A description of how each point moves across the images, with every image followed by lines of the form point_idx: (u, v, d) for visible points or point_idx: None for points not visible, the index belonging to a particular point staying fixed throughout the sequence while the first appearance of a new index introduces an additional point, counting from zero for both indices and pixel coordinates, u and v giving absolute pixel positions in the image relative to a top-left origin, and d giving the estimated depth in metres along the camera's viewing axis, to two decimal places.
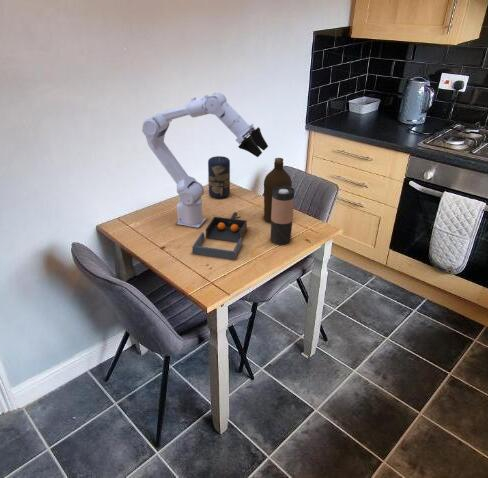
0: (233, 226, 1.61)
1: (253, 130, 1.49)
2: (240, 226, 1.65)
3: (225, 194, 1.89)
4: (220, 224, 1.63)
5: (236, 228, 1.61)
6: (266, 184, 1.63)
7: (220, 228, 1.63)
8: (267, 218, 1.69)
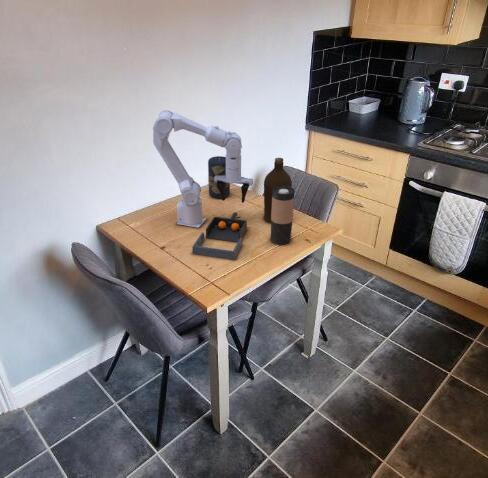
0: (234, 223, 1.63)
1: None
2: (240, 226, 1.65)
3: None
4: (221, 221, 1.64)
5: (237, 225, 1.62)
6: (266, 184, 1.63)
7: (221, 225, 1.63)
8: (267, 218, 1.69)
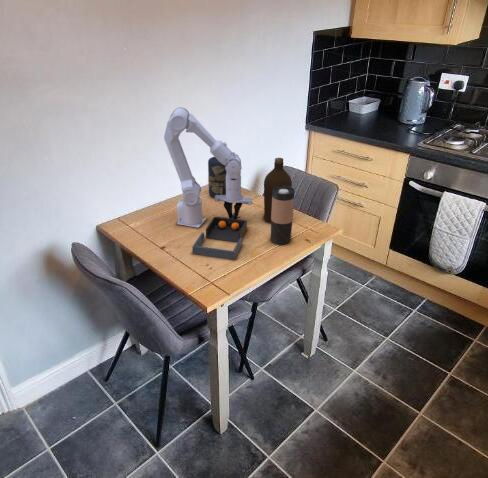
0: None
1: None
2: (240, 226, 1.65)
3: (225, 194, 1.89)
4: (222, 221, 1.65)
5: (237, 224, 1.63)
6: (266, 184, 1.63)
7: (221, 223, 1.64)
8: (267, 218, 1.69)
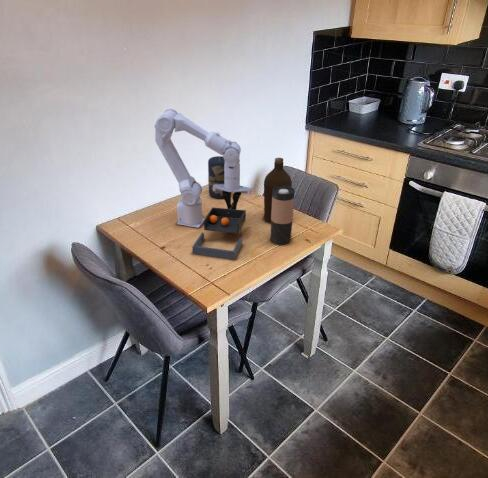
0: None
1: None
2: (239, 216, 1.61)
3: None
4: (210, 221, 1.59)
5: None
6: (266, 184, 1.63)
7: None
8: (267, 218, 1.69)
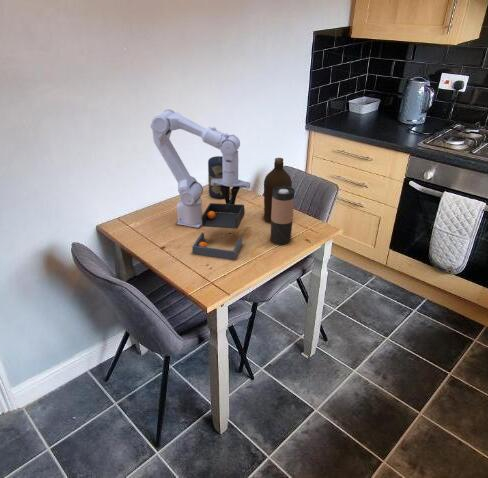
0: None
1: (218, 183, 1.61)
2: (238, 211, 1.57)
3: None
4: (208, 217, 1.56)
5: None
6: (266, 184, 1.63)
7: None
8: (267, 218, 1.69)
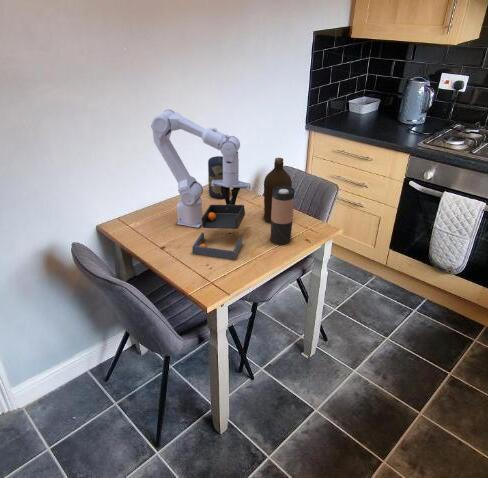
0: (202, 244, 1.51)
1: (218, 184, 1.61)
2: (238, 211, 1.58)
3: None
4: None
5: (206, 245, 1.51)
6: (266, 184, 1.63)
7: None
8: (267, 218, 1.69)
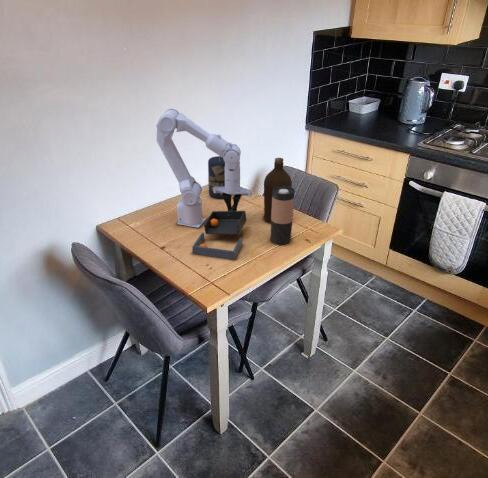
0: None
1: None
2: (239, 217, 1.62)
3: None
4: None
5: (206, 245, 1.51)
6: (266, 184, 1.63)
7: None
8: (267, 218, 1.69)
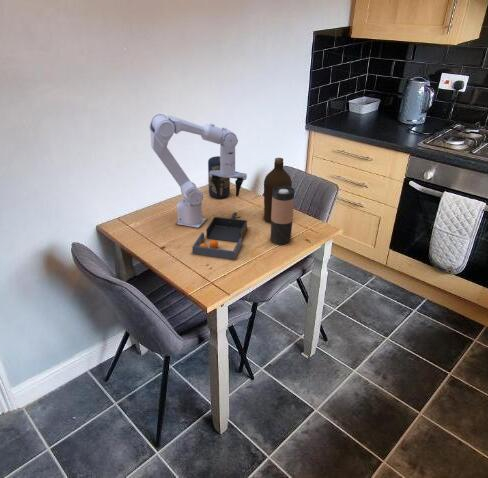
0: (203, 243, 1.52)
1: (216, 175, 1.69)
2: (240, 226, 1.65)
3: (225, 194, 1.89)
4: None
5: (206, 245, 1.52)
6: (266, 184, 1.63)
7: None
8: (267, 218, 1.69)
